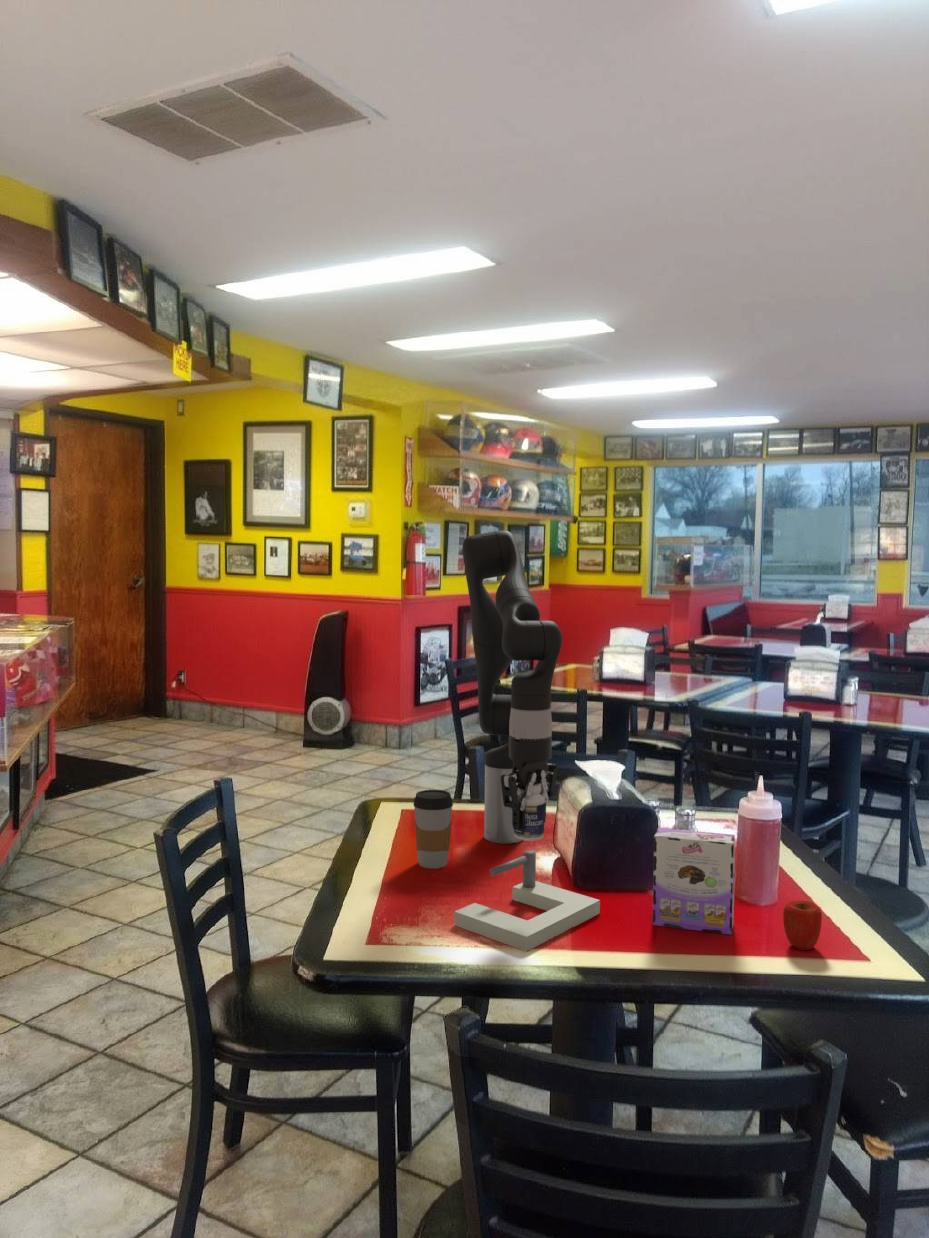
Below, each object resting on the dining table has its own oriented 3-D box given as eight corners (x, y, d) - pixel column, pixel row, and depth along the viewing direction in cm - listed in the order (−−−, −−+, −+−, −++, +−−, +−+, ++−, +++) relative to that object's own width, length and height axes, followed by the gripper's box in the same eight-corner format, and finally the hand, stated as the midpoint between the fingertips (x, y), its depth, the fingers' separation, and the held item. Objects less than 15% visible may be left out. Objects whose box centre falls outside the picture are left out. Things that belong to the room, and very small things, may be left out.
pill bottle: (523, 843, 163) (524, 788, 162) (508, 834, 168) (509, 781, 167) (549, 839, 166) (550, 785, 165) (534, 830, 170) (534, 778, 170)
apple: (789, 935, 162) (791, 893, 161) (826, 945, 158) (827, 902, 157) (776, 947, 157) (777, 903, 156) (813, 957, 153) (814, 913, 152)
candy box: (733, 923, 167) (736, 833, 165) (731, 936, 161) (734, 843, 160) (655, 913, 171) (657, 825, 170) (651, 925, 166) (653, 834, 164)
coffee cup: (451, 870, 193) (452, 799, 192) (411, 870, 193) (411, 799, 192) (453, 857, 201) (453, 789, 200) (414, 857, 201) (414, 788, 200)
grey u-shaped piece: (530, 891, 181) (530, 846, 181) (599, 913, 171) (600, 865, 170) (454, 925, 165) (454, 875, 164) (526, 951, 154) (527, 898, 154)
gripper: (537, 724, 173) (536, 813, 174) (488, 735, 162) (487, 830, 164) (571, 729, 168) (569, 821, 170) (522, 741, 157) (521, 840, 159)
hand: (529, 825), depth 167 cm, fingers closed on pill bottle, 5 cm apart
